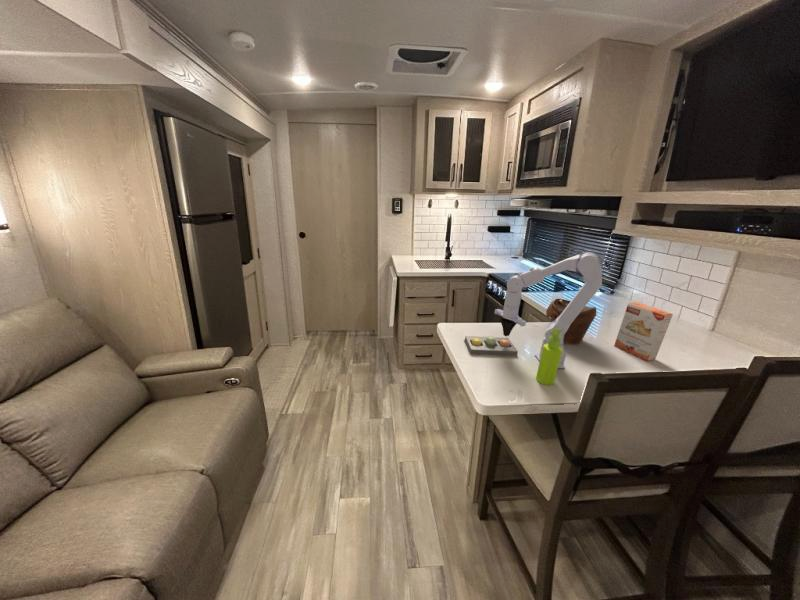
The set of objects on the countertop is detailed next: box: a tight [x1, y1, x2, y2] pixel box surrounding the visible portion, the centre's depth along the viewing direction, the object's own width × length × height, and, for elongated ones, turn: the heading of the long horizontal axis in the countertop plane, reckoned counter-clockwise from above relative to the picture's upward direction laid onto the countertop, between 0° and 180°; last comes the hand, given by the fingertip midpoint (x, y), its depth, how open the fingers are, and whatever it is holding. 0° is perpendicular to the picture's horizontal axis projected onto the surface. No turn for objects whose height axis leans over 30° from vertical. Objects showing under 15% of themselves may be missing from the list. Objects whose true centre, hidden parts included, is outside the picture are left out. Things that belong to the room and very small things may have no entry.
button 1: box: [471, 338, 482, 346], centre depth 128 cm, size 4×4×3 cm
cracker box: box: [613, 301, 673, 362], centre depth 127 cm, size 14×6×21 cm, turn 23°
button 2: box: [499, 339, 511, 347], centre depth 128 cm, size 4×4×3 cm
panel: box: [464, 335, 519, 357], centre depth 128 cm, size 12×19×2 cm, turn 90°
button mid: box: [486, 335, 496, 346], centre depth 127 cm, size 4×4×3 cm
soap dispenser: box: [535, 328, 562, 386], centre depth 104 cm, size 6×7×20 cm
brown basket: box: [545, 298, 597, 345], centre depth 138 cm, size 18×20×18 cm
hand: (506, 335), depth 126 cm, fingers closed
